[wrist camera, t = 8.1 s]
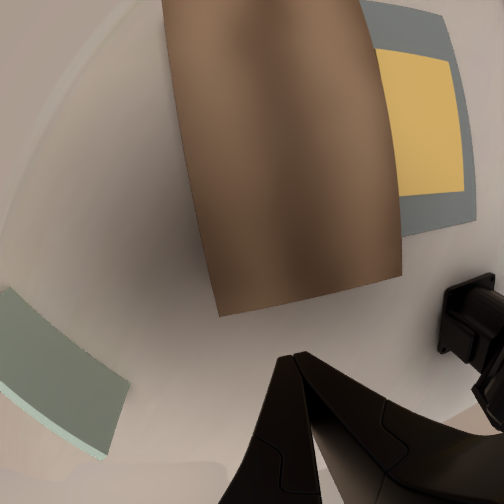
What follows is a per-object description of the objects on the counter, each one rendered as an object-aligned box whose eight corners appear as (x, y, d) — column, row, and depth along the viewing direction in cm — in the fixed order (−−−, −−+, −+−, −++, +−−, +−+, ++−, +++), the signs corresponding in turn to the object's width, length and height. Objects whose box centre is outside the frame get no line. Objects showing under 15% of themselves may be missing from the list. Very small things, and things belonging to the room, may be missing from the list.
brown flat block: (337, 5, 15) (353, -14, 12) (379, 261, 20) (401, 275, 17) (168, 19, 14) (161, -3, 11) (219, 294, 19) (219, 316, 17)
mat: (439, 17, 15) (442, 15, 15) (473, 219, 20) (476, 220, 20) (328, -1, 15) (330, -3, 14) (372, 241, 20) (375, 242, 19)
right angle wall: (-15, 369, 19) (-52, 413, 12) (10, 286, 18) (-49, 330, 11) (79, 442, 22) (59, 498, 15) (130, 382, 21) (107, 455, 14)
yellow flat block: (431, 67, 16) (448, 61, 14) (446, 188, 19) (464, 191, 17) (361, 57, 16) (375, 48, 14) (378, 193, 18) (394, 196, 16)
